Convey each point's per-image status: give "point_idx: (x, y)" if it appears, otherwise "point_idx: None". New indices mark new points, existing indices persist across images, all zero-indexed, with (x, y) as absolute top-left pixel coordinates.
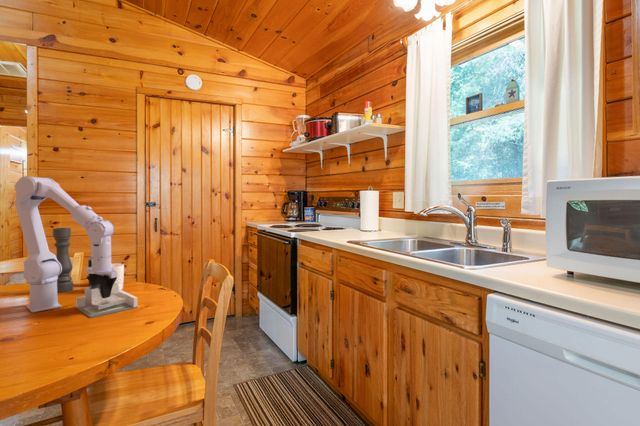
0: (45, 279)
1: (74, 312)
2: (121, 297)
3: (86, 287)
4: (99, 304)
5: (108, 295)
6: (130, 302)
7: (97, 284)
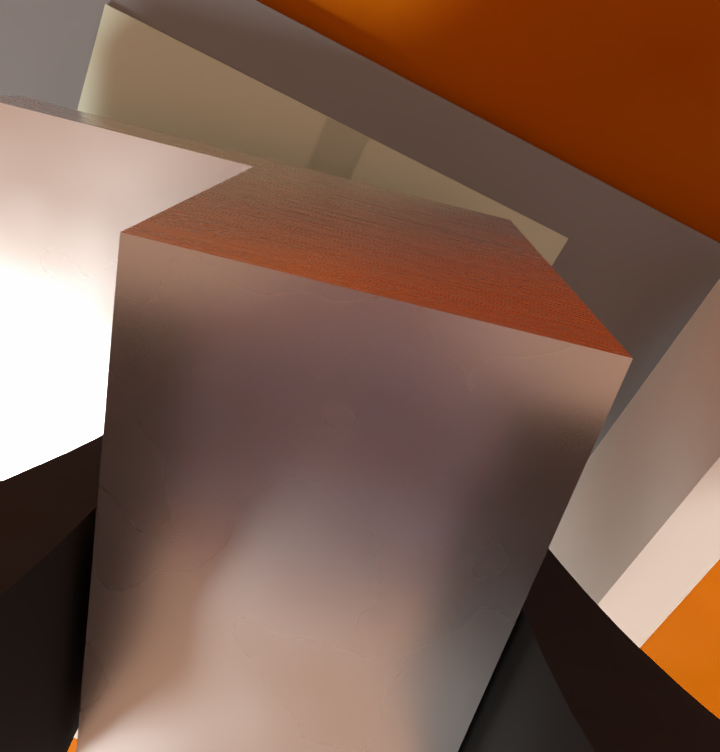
0: None
1: (608, 64)
2: None
3: (577, 400)
4: (58, 184)
5: None
6: None
7: (488, 740)
